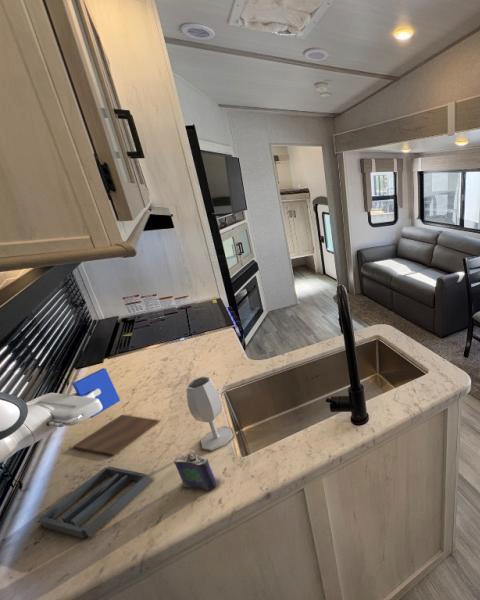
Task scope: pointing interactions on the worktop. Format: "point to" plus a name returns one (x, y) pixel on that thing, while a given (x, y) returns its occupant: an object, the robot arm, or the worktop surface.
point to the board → (116, 435)
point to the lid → (101, 382)
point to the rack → (94, 502)
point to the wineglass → (207, 411)
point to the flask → (195, 471)
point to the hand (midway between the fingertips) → (95, 390)
